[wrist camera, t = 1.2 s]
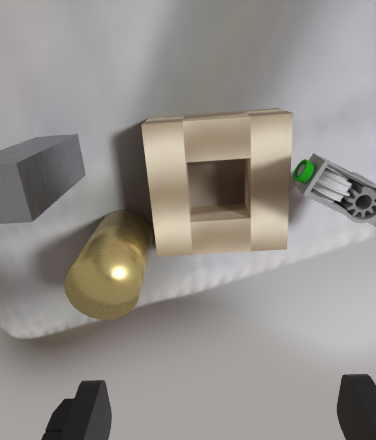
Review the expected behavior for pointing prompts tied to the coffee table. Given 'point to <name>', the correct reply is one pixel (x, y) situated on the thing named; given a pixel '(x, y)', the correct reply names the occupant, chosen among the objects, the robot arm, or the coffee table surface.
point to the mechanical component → (337, 188)
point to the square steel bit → (37, 175)
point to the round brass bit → (111, 267)
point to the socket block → (219, 181)
